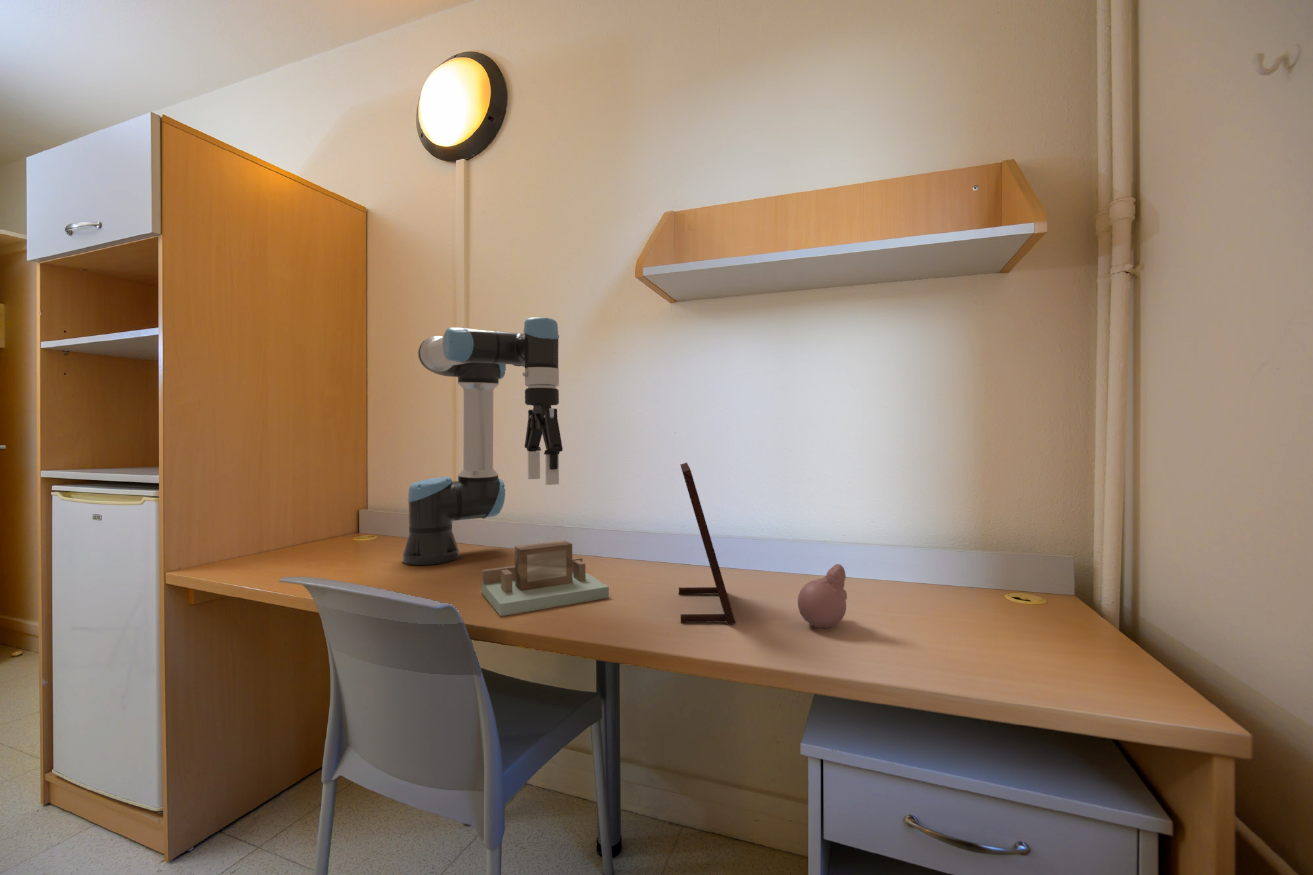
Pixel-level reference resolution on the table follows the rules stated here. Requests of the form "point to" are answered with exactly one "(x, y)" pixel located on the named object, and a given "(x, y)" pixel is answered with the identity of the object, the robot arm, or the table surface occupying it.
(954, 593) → the table surface
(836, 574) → the figurine
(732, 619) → the black easel stand
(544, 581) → the walnut frame
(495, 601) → the green assembly board
